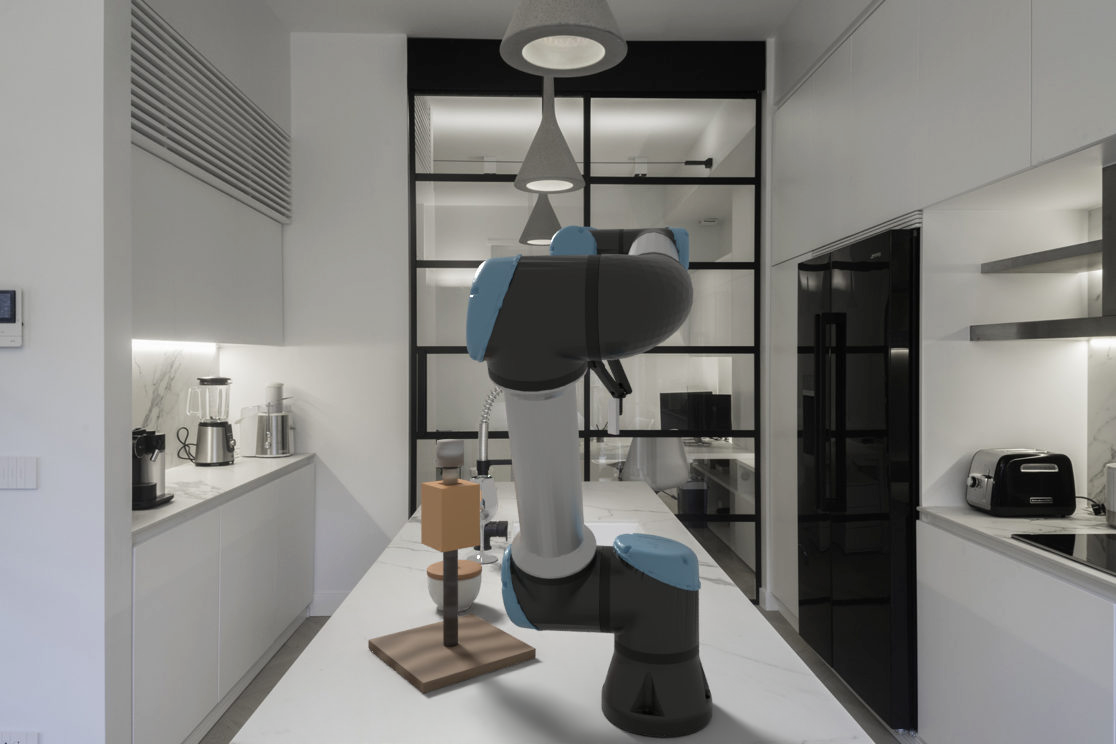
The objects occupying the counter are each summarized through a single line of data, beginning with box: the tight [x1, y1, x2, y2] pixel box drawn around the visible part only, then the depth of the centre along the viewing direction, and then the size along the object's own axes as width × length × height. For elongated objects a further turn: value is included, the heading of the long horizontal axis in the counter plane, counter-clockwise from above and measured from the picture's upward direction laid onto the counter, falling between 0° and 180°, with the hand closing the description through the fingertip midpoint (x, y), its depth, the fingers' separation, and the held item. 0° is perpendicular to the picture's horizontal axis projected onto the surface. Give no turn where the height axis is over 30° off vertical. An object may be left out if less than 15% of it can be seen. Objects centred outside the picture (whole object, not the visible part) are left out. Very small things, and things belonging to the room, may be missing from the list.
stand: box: [367, 438, 537, 694], centre depth 116 cm, size 20×20×35 cm
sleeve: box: [420, 478, 480, 553], centre depth 116 cm, size 7×7×10 cm
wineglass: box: [465, 474, 499, 565], centre depth 171 cm, size 8×8×20 cm
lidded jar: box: [426, 559, 483, 612], centre depth 138 cm, size 11×11×9 cm
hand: (581, 435), depth 126 cm, fingers open, 13 cm apart
